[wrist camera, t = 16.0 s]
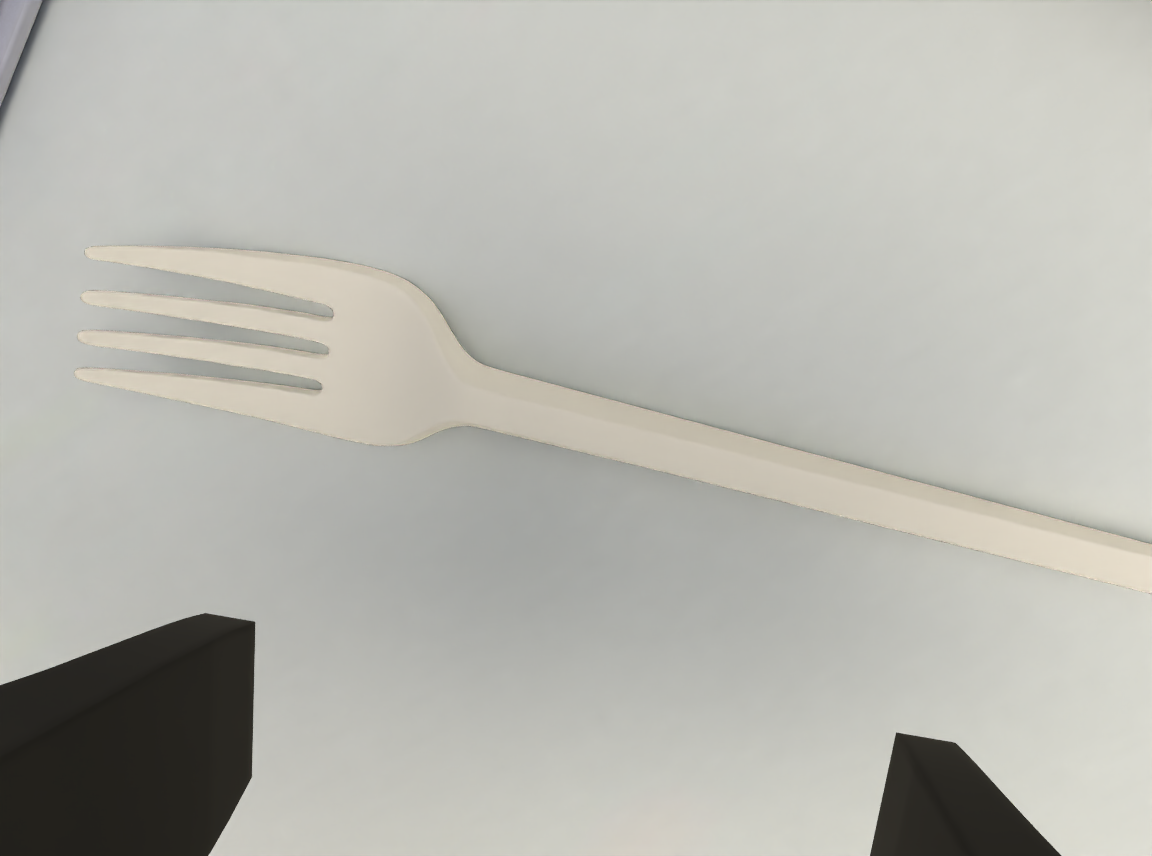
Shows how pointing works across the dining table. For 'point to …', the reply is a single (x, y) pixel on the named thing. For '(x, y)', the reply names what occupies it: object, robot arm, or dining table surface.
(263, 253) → the fork
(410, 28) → the dining table surface
